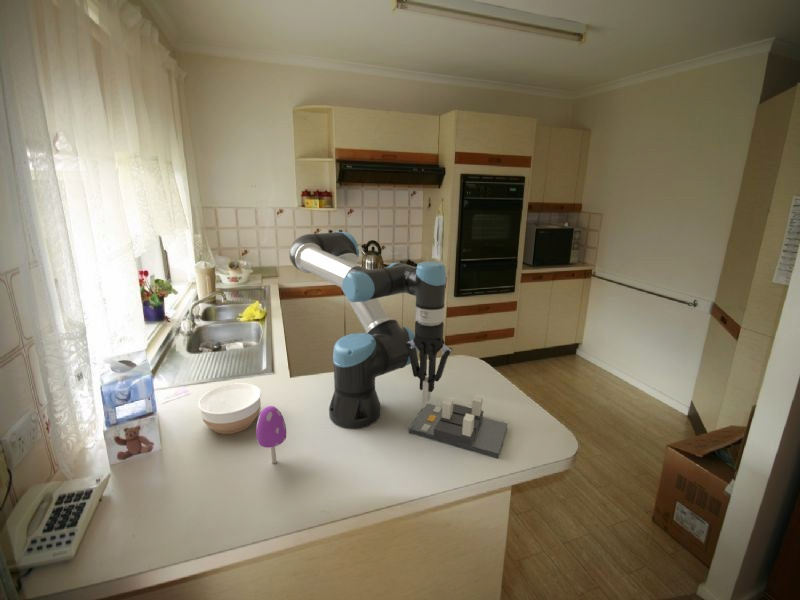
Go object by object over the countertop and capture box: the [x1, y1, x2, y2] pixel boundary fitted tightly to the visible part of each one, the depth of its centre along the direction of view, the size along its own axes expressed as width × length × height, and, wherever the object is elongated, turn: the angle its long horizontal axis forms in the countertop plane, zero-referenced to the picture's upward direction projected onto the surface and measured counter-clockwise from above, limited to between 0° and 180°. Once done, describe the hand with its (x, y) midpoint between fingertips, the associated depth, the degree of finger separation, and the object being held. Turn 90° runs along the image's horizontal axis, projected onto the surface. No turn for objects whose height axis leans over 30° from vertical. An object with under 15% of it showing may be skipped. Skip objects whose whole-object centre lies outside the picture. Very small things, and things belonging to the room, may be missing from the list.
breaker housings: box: [434, 394, 484, 446], centre depth 106 cm, size 10×14×7 cm
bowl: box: [197, 382, 262, 435], centre depth 108 cm, size 16×16×8 cm
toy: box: [255, 405, 287, 464], centre depth 92 cm, size 7×7×15 cm
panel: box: [408, 402, 509, 459], centre depth 107 cm, size 24×14×2 cm, turn 66°
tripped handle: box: [441, 397, 455, 420], centre depth 107 cm, size 2×3×4 cm
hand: (426, 400), depth 109 cm, fingers closed
